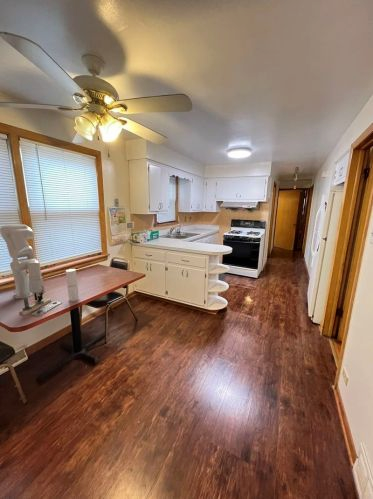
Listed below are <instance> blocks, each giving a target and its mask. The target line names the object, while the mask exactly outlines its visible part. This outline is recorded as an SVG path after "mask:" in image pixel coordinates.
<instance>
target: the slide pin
mask: <svg viewBox="0 0 373 499" xmlns="http://www.w3.org/2000/svg"><path fill="white" fill-rule="evenodd" d="M36 296H37V300H36V301H34V304H35V303H37V304H41V303H43V302H44V301H42V300H41V301H39V300H38V293H36Z"/></svg>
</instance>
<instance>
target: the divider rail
mask: <svg viewBox="0 0 373 499" xmlns="http://www.w3.org/2000/svg"><path fill="white" fill-rule="evenodd" d="M28 298H29V297H26V298H23V303H24V307H23V308H22V310H19V312H18V313H19V315H23V316H26V315H28V314H31V313H32V312H34V311H35V310H36V311H37V309H38V310H39V308H41V307H44V306H46V305H48V304H50V303H51V302H52V298H48V297H47V298H46V297H45V298H43V300H42V301H44V302H43V303H41V304H37V303H35V302H34V303H33V304H32V305H30V304H29V299H28Z"/></svg>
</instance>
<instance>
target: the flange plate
mask: <svg viewBox="0 0 373 499" xmlns="http://www.w3.org/2000/svg"><path fill="white" fill-rule="evenodd" d="M62 303H63V302H62V301H56V300H54V301H51V302H49V303H47V304H46V305H44V306H42V308H41V307H40V309H39V308H38V310H36V311H35V312H34V311H33V313H32V312H31V316H38V317H41V316H43V315H44V314H46V313H48V312H49V311H51V310H52V309H55V308H56V307H58V306H59V305H61V304H62ZM42 314H43V315H42Z"/></svg>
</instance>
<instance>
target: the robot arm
mask: <svg viewBox="0 0 373 499" xmlns="http://www.w3.org/2000/svg"><path fill="white" fill-rule="evenodd" d="M0 237H2V239H3V240H4V242H5V243H6V246H7V247H6V248H7V250H8V253H9V257H10V258H12V261H11V262H10V263H9V264H10V270H11V272H12V275H13V280H14V286H15V291H14V292H13V293H14V294H15V295H14V298H15V299H26V298H29V297H31V296H34V300H35V301H34V302H36V301H37V296H36V293H38V300H39V301H41V300H43V299H44V297H43V295H44V294H45V293H46V291H45V290H46V288H45V282H44V280H43V277H42V271H41V270H42V269H41V264H40V261H39V260H38V259H36V257H35V256H36V255H35V252H34V249H33V247H32V245H31V246H30V244H29V242H28V240H30V239H31V240H32V239H34V238H35V233H34V231H33V229H31V227H29V226H28V225H26V224H10V225H9V224H8V225H7V224H6V225H2V226H1V227H0ZM26 271H27V272H26Z"/></svg>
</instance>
